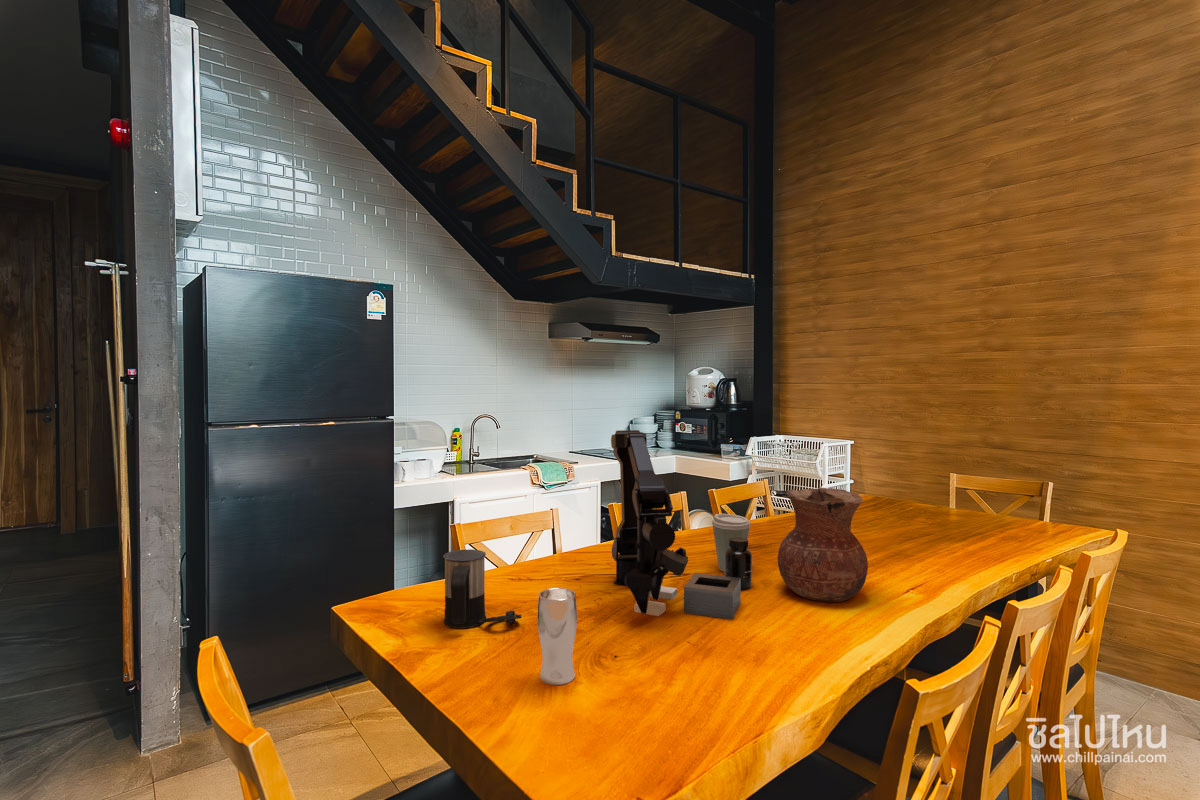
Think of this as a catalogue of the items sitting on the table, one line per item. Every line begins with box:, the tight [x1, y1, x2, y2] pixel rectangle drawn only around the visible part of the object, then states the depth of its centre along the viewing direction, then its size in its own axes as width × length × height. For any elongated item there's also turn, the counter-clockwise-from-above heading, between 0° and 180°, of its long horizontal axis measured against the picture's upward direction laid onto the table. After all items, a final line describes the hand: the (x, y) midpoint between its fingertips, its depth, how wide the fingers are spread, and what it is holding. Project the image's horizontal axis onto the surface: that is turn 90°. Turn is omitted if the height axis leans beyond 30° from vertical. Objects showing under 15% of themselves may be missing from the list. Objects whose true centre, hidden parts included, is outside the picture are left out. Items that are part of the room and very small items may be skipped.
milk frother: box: [443, 548, 522, 629], centre depth 138 cm, size 14×16×15 cm
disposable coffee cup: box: [711, 513, 751, 573], centre depth 176 cm, size 11×11×15 cm
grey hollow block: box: [683, 572, 742, 620], centre depth 147 cm, size 11×11×6 cm
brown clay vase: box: [776, 487, 869, 603], centre depth 157 cm, size 22×21×25 cm
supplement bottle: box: [724, 538, 753, 591], centre depth 163 cm, size 7×7×12 cm
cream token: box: [633, 600, 666, 617], centre depth 145 cm, size 6×4×2 cm, turn 63°
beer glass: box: [537, 587, 578, 686], centre depth 113 cm, size 7×7×15 cm
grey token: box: [649, 585, 678, 601], centre depth 156 cm, size 6×4×2 cm, turn 67°
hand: (650, 606), depth 145 cm, fingers open, 9 cm apart
